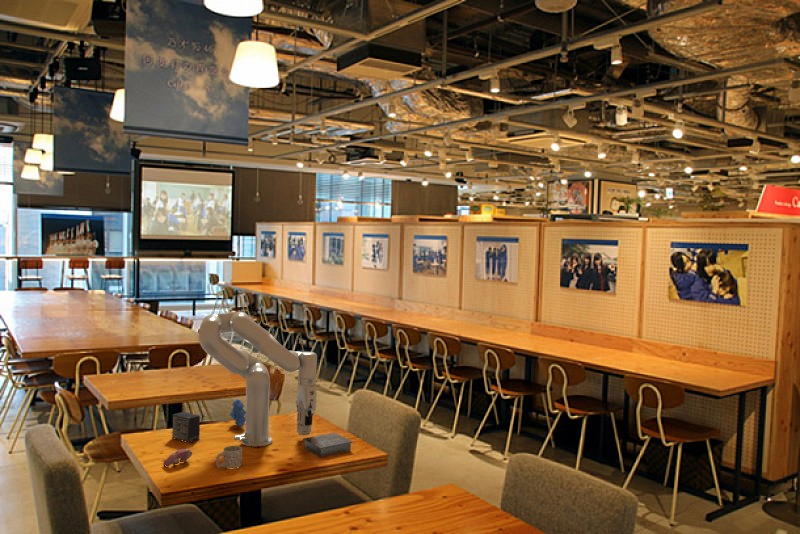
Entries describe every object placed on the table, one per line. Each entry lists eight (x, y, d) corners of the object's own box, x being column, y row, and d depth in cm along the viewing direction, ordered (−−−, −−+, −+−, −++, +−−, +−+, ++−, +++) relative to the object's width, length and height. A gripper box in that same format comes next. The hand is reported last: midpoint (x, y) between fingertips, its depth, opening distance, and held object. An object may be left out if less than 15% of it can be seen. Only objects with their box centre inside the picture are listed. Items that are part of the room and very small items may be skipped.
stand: (320, 457, 250) (320, 447, 250) (302, 448, 261) (303, 438, 261) (352, 451, 259) (352, 441, 259) (334, 442, 270) (334, 432, 270)
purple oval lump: (168, 472, 235) (174, 457, 233) (161, 465, 237) (167, 450, 235) (190, 465, 243) (195, 450, 241) (182, 457, 245) (188, 443, 243)
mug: (236, 461, 244) (236, 444, 243) (244, 466, 239) (245, 449, 239) (211, 467, 237) (212, 449, 237) (220, 472, 232) (220, 454, 232)
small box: (200, 439, 269) (201, 415, 269) (188, 443, 264) (188, 418, 263) (184, 435, 275) (184, 411, 274) (171, 438, 269) (171, 414, 269)
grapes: (224, 424, 292) (224, 398, 291) (238, 422, 296) (238, 396, 295) (234, 430, 283) (235, 404, 282) (249, 428, 287) (249, 402, 286)
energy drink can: (294, 432, 273) (296, 397, 272) (306, 430, 276) (308, 396, 276) (301, 436, 268) (303, 401, 267) (313, 434, 272) (315, 399, 271)
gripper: (324, 384, 267) (322, 427, 267) (304, 376, 281) (302, 417, 281) (308, 386, 262) (306, 429, 263) (289, 377, 276) (287, 419, 277)
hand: (304, 422), depth 272 cm, fingers closed on energy drink can, 6 cm apart
